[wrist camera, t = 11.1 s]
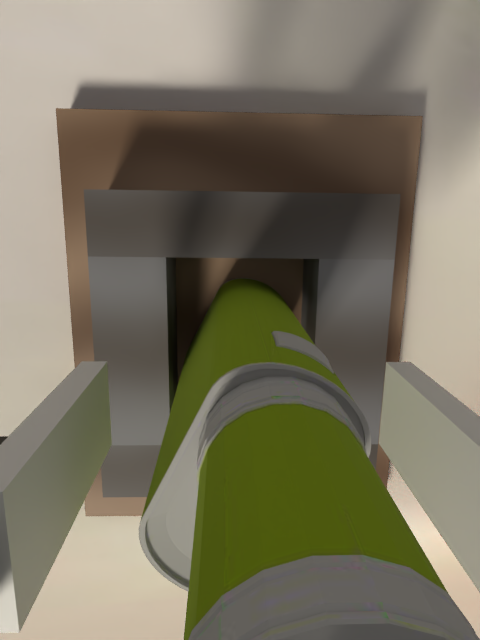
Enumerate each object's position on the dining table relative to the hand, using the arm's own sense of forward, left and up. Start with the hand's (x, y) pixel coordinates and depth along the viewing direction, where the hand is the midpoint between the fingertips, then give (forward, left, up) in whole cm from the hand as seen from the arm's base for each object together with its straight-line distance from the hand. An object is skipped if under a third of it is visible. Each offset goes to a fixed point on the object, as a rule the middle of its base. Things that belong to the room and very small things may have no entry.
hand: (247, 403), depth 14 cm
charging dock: (0, 0, -10) cm, 10 cm away
